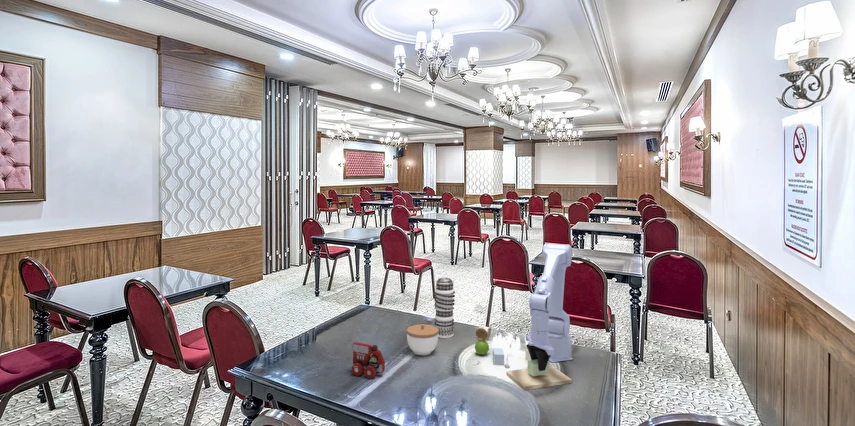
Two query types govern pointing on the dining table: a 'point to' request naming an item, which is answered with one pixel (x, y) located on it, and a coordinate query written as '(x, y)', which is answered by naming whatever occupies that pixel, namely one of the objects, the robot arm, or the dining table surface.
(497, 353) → the blue brick
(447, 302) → the banded tower model
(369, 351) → the toy fire truck
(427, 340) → the lidded bowl
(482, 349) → the snail figurine
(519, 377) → the birch board
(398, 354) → the dining table surface
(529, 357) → the ivory brick
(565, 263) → the robot arm
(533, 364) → the green brick
